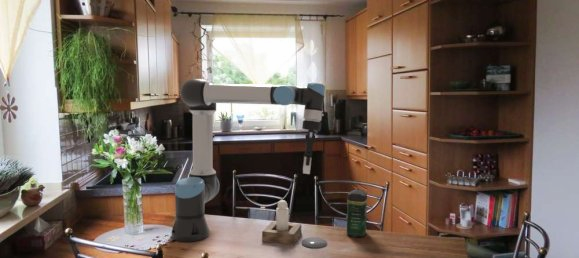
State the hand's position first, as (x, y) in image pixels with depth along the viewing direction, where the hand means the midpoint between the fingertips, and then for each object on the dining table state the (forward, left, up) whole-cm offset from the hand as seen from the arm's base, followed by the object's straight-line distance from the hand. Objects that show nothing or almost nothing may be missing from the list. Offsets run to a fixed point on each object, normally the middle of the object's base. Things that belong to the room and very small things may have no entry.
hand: (306, 172), depth 170 cm
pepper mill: (-9, -5, -27) cm, 29 cm away
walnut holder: (-9, -5, -27) cm, 29 cm away
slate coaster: (+5, -8, -27) cm, 28 cm away
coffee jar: (+20, +8, -27) cm, 35 cm away
